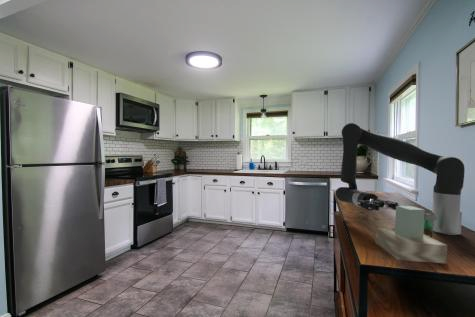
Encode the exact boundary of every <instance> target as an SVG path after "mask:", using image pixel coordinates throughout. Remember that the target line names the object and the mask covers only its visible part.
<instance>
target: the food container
mask: <svg viewBox="0 0 475 317" xmlns="http://www.w3.org/2000/svg"><path fill="white" fill-rule="evenodd" d="M424 210H425V215H424V234H425V235H427V236H429V237H431V238H433V233H434V231H433V227H434V220H437V218H436V215H435V213H433V212H432V211H429V210H426V209H424Z"/></svg>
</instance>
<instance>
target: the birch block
mask: <svg viewBox="0 0 475 317" xmlns="http://www.w3.org/2000/svg"><path fill="white" fill-rule="evenodd" d="M374 240H375V242H374V243H375V244H376V245H377V246H379V247H380V248H381V249H383V250H384V251H385V252H387V253H388V254H390V255H391V256H392V257H393V258H395V259H396V260H397V261H406V262H407V261H409V262H410V261H411V262H421V263H434V264H436V263H437V264H447V255H448V254H447V253H448V244H446V243H443V242H441V241H439V240H437V239H435V238H433V237H432V238H431V237H429V236H427V235H425V234H423V238H418V239H408V238H405V237H403V236H400V235H398V234H396V233H395V228H387V227H386V228H383V227H376V228H375V239H374Z"/></svg>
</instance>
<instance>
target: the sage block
mask: <svg viewBox="0 0 475 317" xmlns="http://www.w3.org/2000/svg"><path fill="white" fill-rule="evenodd" d="M425 210H426V209H423V208H420V207H416V206H412V205H400V206H396V210H395V216H394V218H395V222H394V229H395V233H396V234H398V235H400V236H403V237H405V238H408V239H418V238H423V234H424V215H425Z"/></svg>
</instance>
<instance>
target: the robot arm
mask: <svg viewBox="0 0 475 317" xmlns="http://www.w3.org/2000/svg"><path fill="white" fill-rule="evenodd" d="M341 137H342V145H343V146H342V147H343V148H342V150H343V151H342V152H343V153H342V158H341V159H342V160H341V166H340V167H341V169H340V182H343V183H346V184H347V185H348V186H344V187H343V186H339V187H338V188H337V189H336V190H335V197H336V199H337V200H338V201H340V202H343V203H344V202H345V203H350V204H352V205H355V206H357V207H359V208H360V209H363V210H366V211H367V212H368V211H369V212H371V211H376V212H377V211H380V209H383V210H393V211H396V206H401V205H400V204H399V202H396V201H392V200H390V199H389V200H384V199H381V198H379V197H378V196H377V194H375V193H372V192H368V191H365V190H359V189H358V186H357V178H356V177H357V166H358V165H357V161H358V159H357V154H358V146H359V145H362V146H365V147H368V148H369V149H372V150H373V151H375V152H377V153H379V154H382V155H384V156H386V157H389V158H392V159H394V160H397V161H400V162H403V163H407V164H411V165H414V166H418V167H420V168H423V169H424V170H427V171H429V172H431V173H433V174H435V175H436V178H435V184H434V185H433V188H432V189H433V192H432V210H431V212H433V213H435V215H436V218H437V220H434V227H433V232H436V233H438V234H443V235H449V236H458V235H461V234H462V217H463V212H462V211H461V196H462V190H463V187H464V181H465V170H466V169H465V164H464V163H463V161H462V160H461V159H459V158H458V157H455V156H443V155H439V154H435V153H432V152H428V151H425V150H423V149H421V148H419V147H418V146H416V145H414V144H412V143H410V142H408V141H406V140H402V139H399V138H396V137H392V136H389V135H386V134H385V135H383V134H380V133H379V134H378V133H374V132H371V131H369V130H367V129H364V128H362V127H361V126H360V125H359V124H357V123H355V122H351V123H347V124H345V125H344V126H343V127H342V128H341Z"/></svg>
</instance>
